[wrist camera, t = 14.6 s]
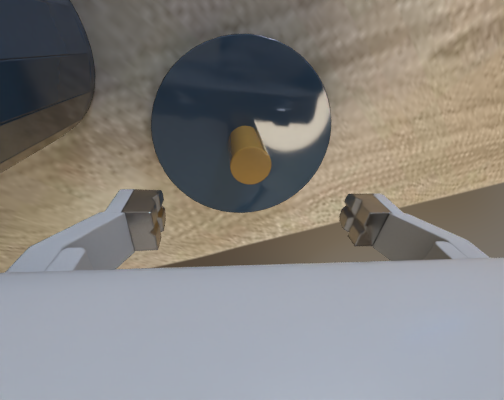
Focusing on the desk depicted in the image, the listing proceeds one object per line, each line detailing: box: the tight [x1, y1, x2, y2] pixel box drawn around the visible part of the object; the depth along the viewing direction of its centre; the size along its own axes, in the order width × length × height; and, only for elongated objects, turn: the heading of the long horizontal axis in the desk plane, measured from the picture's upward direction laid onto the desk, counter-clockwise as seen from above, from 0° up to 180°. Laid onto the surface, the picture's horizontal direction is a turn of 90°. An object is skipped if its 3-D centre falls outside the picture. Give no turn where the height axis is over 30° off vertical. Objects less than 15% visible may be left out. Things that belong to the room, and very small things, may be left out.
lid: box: [151, 34, 331, 213], centre depth 15 cm, size 13×13×5 cm
